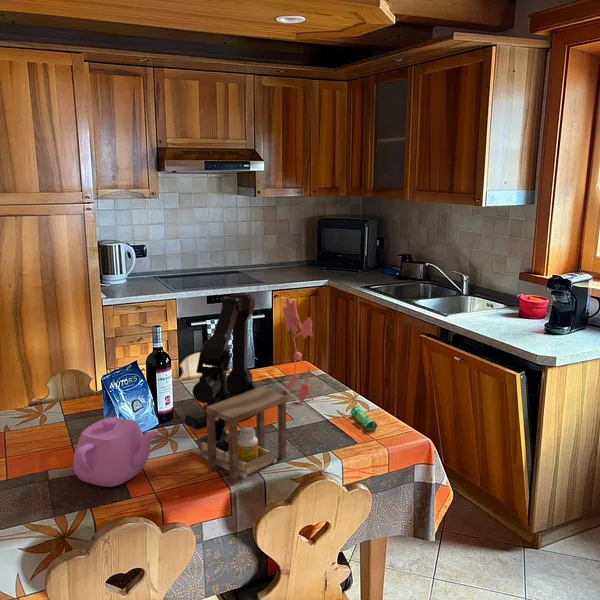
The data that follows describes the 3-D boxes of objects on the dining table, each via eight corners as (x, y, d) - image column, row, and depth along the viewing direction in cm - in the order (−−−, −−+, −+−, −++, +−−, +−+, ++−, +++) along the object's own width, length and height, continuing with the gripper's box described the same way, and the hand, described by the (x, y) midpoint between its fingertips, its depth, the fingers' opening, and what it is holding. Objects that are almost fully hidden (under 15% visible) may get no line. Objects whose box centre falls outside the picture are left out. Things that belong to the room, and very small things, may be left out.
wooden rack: (199, 450, 169) (198, 438, 168) (224, 439, 176) (223, 427, 175) (246, 475, 156) (246, 462, 155) (272, 462, 163) (272, 449, 162)
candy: (379, 428, 183) (372, 418, 181) (370, 435, 182) (364, 425, 181) (363, 412, 194) (356, 403, 192) (354, 419, 193) (348, 410, 192)
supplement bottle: (242, 470, 159) (241, 436, 157) (234, 461, 163) (234, 428, 161) (261, 466, 161) (260, 432, 159) (253, 457, 166) (252, 424, 164)
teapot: (52, 490, 149) (47, 434, 145) (108, 452, 168) (104, 402, 165) (129, 510, 141) (125, 451, 137) (178, 468, 160) (176, 415, 156)
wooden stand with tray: (181, 455, 166) (179, 394, 162) (234, 433, 180) (232, 376, 176) (233, 484, 152) (232, 418, 148) (285, 457, 166) (285, 396, 162)
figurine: (296, 381, 222) (295, 288, 213) (325, 408, 198) (324, 305, 190) (257, 387, 216) (253, 292, 208) (281, 416, 193) (279, 310, 184)
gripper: (208, 406, 154) (210, 462, 158) (261, 387, 168) (261, 438, 171) (181, 395, 162) (184, 448, 165) (234, 377, 175) (235, 426, 179)
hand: (217, 440), depth 170 cm, fingers closed
